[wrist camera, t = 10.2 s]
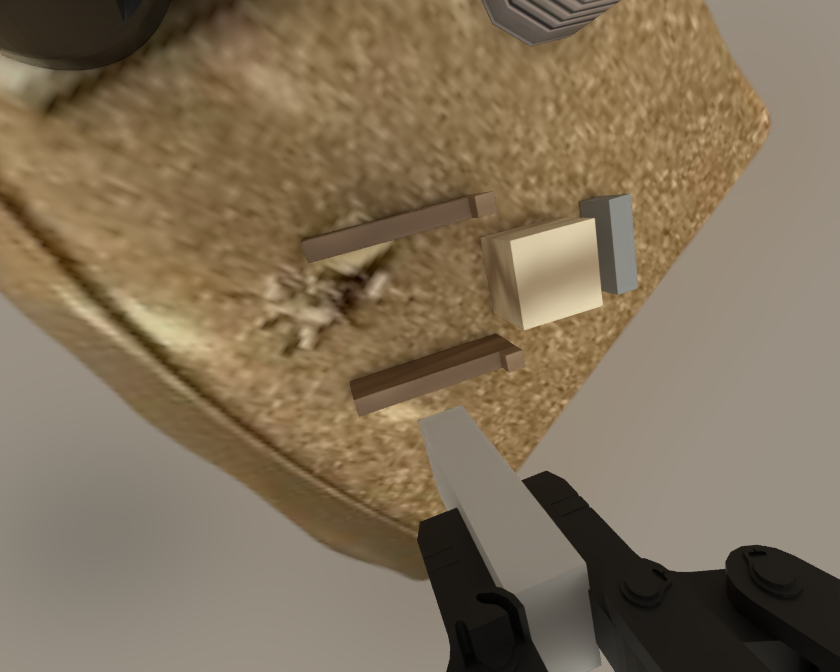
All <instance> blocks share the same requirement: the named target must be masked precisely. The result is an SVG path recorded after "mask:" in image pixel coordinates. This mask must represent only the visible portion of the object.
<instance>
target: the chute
mask: <svg viewBox="0 0 840 672" xmlns="http://www.w3.org/2000/svg"><path fill="white" fill-rule="evenodd" d="M494 213H498V210H497V205H496V199H495V194H494V191H492V192H485V193H479V194H473V195H467V196H464V197H460V198H456V199H452V200H449V201H445V202H441V203H437V204H434V205H430V206H426V207H422V208H419V209H415V210H411V211H408V212H404V213H400V214H396V215H393V216H389V217H385V218H381V219H378V220H374V221H370V222H367V223H363V224H359V225H355V226H352V227H348V228H344V229H340V230H337V231H333V232H329V233H325V234H322V235H318V236H314V237H311V238H307V239H303V240H302V241H301V244H302V247H303V250H304V253H305V256H306V259H307V262H308V263H312V262H315V261H319V260H323V259H326V258H330V257H333V256H337V255H341V254H344V253H348V252H351V251H355V250H359V249H362V248H366V247H369V246H373V245H377V244H380V243H384V242H387V241H391V240H395V239H398V238H402V237H405V236H409V235H413V234H416V233H420V232H423V231H427V230H431V229H434V228H438V227H441V226H445V225H449V224H452V223H456V222H459V221H463V220H467V219H470V218H480V217H483V216H487V215H490V214H494ZM523 367H525V361H524V356H523V350H521V349H520V348H518V347H517V346H515V345H513V344H512V343H510V342H509V341H507V340H505V339H504V338H502V337H501V336H499V335H497V334H494V335H491V336H488V337H485V338H482V339H478V340H475V341H472V342H469V343H466V344H463V345H460V346H457V347H454V348H451V349H448V350H445V351H442V352H439V353H436V354H433V355H430V356H427V357H424V358H421V359H417V360H414V361H411V362H408V363H405V364H402V365H399V366H396V367H393V368H390V369H387V370H384V371H381V372H378V373H375V374H372V375H369V376H366V377H363V378H360V379H356V380H353V381H350V386H351V390H352V395H353V399H354V403H355V406H356V409H357V412H358V415H359V417H360V416H363V415H366V414H369V413H372V412H375V411H377V410H380V409H383V408H386V407H389V406H392V405H395V404H398V403H401V402H404V401H407V400H410V399H412V398H415V397H418V396H421V395H424V394H427V393H430V392H433V391H436V390H439V389H442V388H445V387H448V386H450V385H453V384H456V383H459V382H462V381H465V380H468V379H471V378H474V377H477V376H480V375H483V374H485V373H488V372H491V371H494V370H497V369H500V368H504V369H505V370H506V371H508V372H512V371H515V370H518V369H520V368H523Z"/></svg>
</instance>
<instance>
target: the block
mask: <svg viewBox="0 0 840 672" xmlns="http://www.w3.org/2000/svg"><path fill="white" fill-rule="evenodd" d="M480 240H481V246H482V251H483V257H484V263H485V268H486V274H487V279H488V285H489V290H490V296H491V302H492V307H493V313H494V315H496V316H498V317H500V318H502V319H504V320H506V321H508V322H510V323H511V324H513V325H515V326H517V327H519V328H521V329H523V330H526V329H529V328H533V327H536V326H539V325H542V324H546V323H549V322H552V321H555V320H558V319H562V318H565V317H568V316H571V315H574V314H578V313H581V312H584V311H587V310H590V309H594V308H597V307H600V306H603V304H602V293H601V282H600V271H599V260H598V249H597V238H596V227H595V218H551V219H548V220H544V221H540V222H536V223H533V224H529V225H525V226H522V227H518V228H514V229H510V230H507V231H503V232H499V233H495V234H492V235H488V236H484V237H480Z"/></svg>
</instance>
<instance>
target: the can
mask: <svg viewBox="0 0 840 672" xmlns="http://www.w3.org/2000/svg"><path fill="white" fill-rule="evenodd" d="M619 1H620V0H482V2H483V5H484V7H485V9H486V11H487V13H488V15H489V17H490V20H491V22H492V24H493V25H495V26H497V27H498V28H500V29H502V30H504V31H505V32H507V33H509V34H510V35H512V36H514V37H515V38H517V39H519V40H520V41H522V42H524V43H526V44H527V45H529V46H534V45H538V44H542V43H546V42H550V41H555V40H559V39H563V38H567V37H570V36H571V35H573V34H574V33H576V32H577V31H578V30H580V29H581V28H583V27H584V26H585V25H587V24H588V23H590V22H591V21H592V20H594V19H595V18H597V17H598V16H599V15H601V14H602V13H604V12H605V11H606V10H608V9H609V8H611V7H612V6H613V5H615V4H616V3H618V2H619Z"/></svg>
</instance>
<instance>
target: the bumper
mask: <svg viewBox="0 0 840 672" xmlns="http://www.w3.org/2000/svg"><path fill="white" fill-rule="evenodd" d="M579 204H580V212H581V218H595V227H596V238H597V249H598V260H599V271H600V282H601V291H605V292H609V293H613V294H617V295H619V294H622V293H625V292H628V291H631V290H634V289H637V288H638V282H637V269H636V257H635V244H634V231H633V218H632V205H631V194H621V195H609V196H598V197H595V198H591V199H588V200H584V201H581V202H579Z"/></svg>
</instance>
